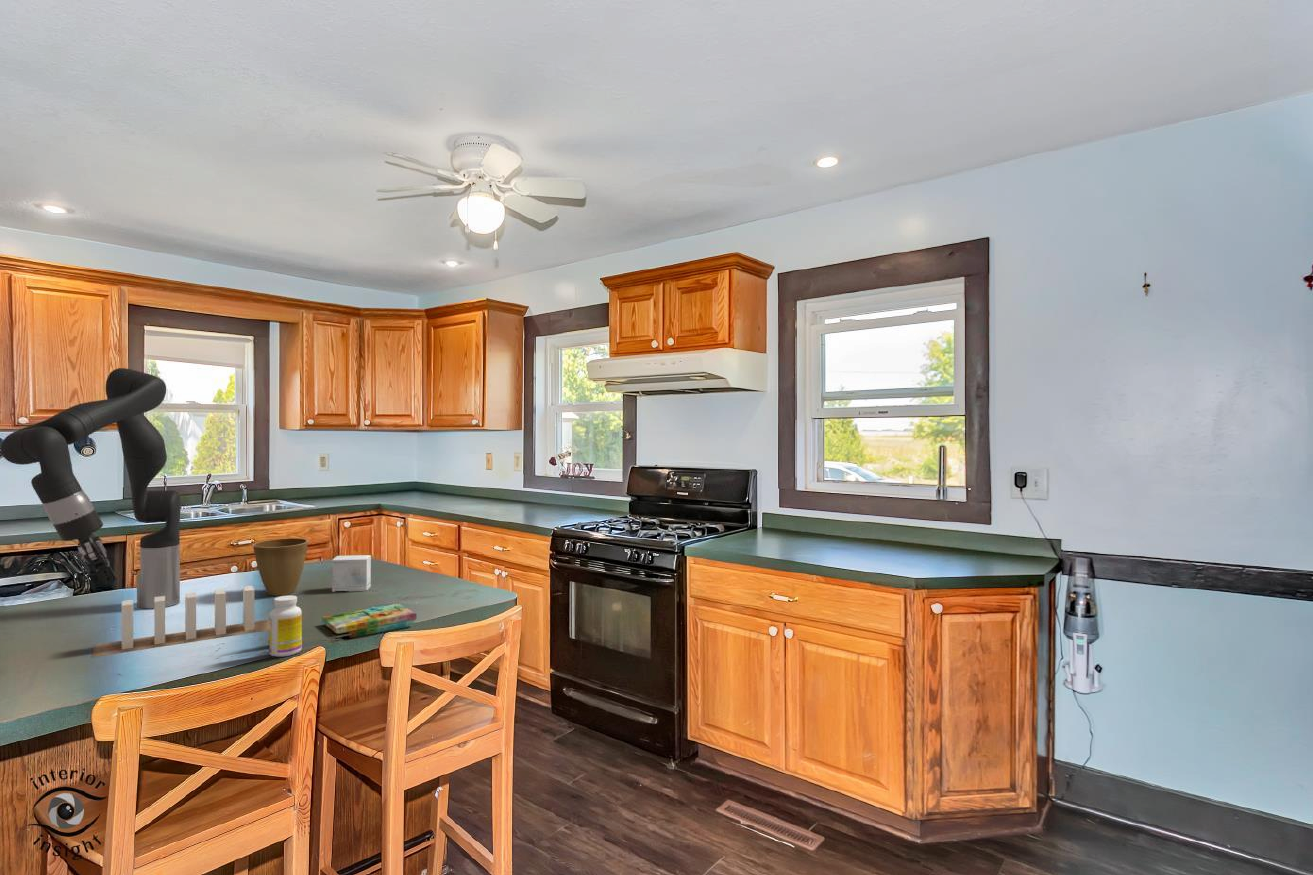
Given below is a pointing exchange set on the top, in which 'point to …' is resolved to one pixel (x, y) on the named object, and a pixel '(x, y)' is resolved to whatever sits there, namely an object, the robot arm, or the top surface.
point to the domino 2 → (159, 619)
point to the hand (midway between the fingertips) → (111, 581)
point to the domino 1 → (127, 624)
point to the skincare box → (351, 573)
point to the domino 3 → (190, 615)
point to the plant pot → (280, 564)
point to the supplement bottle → (285, 627)
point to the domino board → (176, 639)
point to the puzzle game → (371, 620)
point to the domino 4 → (220, 612)
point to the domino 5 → (248, 608)
